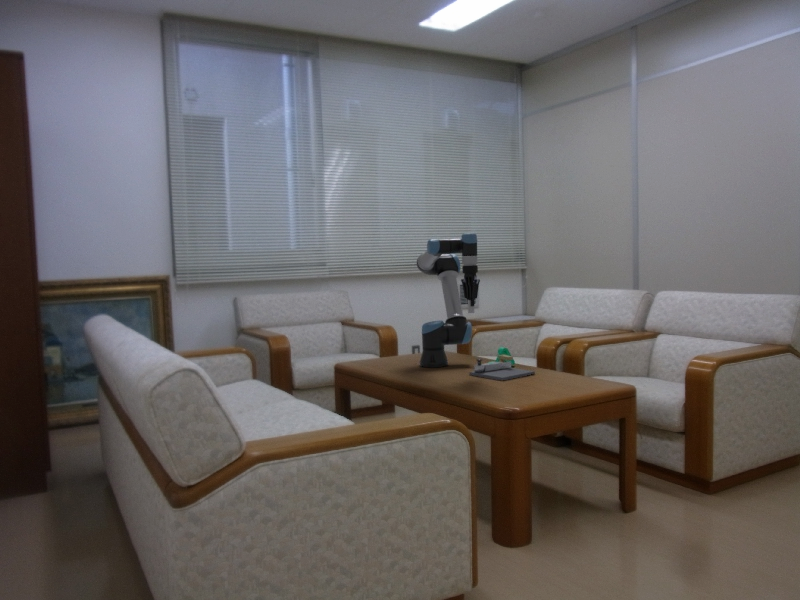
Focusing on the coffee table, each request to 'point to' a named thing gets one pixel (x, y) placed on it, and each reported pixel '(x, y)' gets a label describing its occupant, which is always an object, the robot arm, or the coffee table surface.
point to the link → (491, 366)
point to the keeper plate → (503, 371)
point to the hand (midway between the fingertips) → (471, 312)
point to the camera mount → (503, 352)
